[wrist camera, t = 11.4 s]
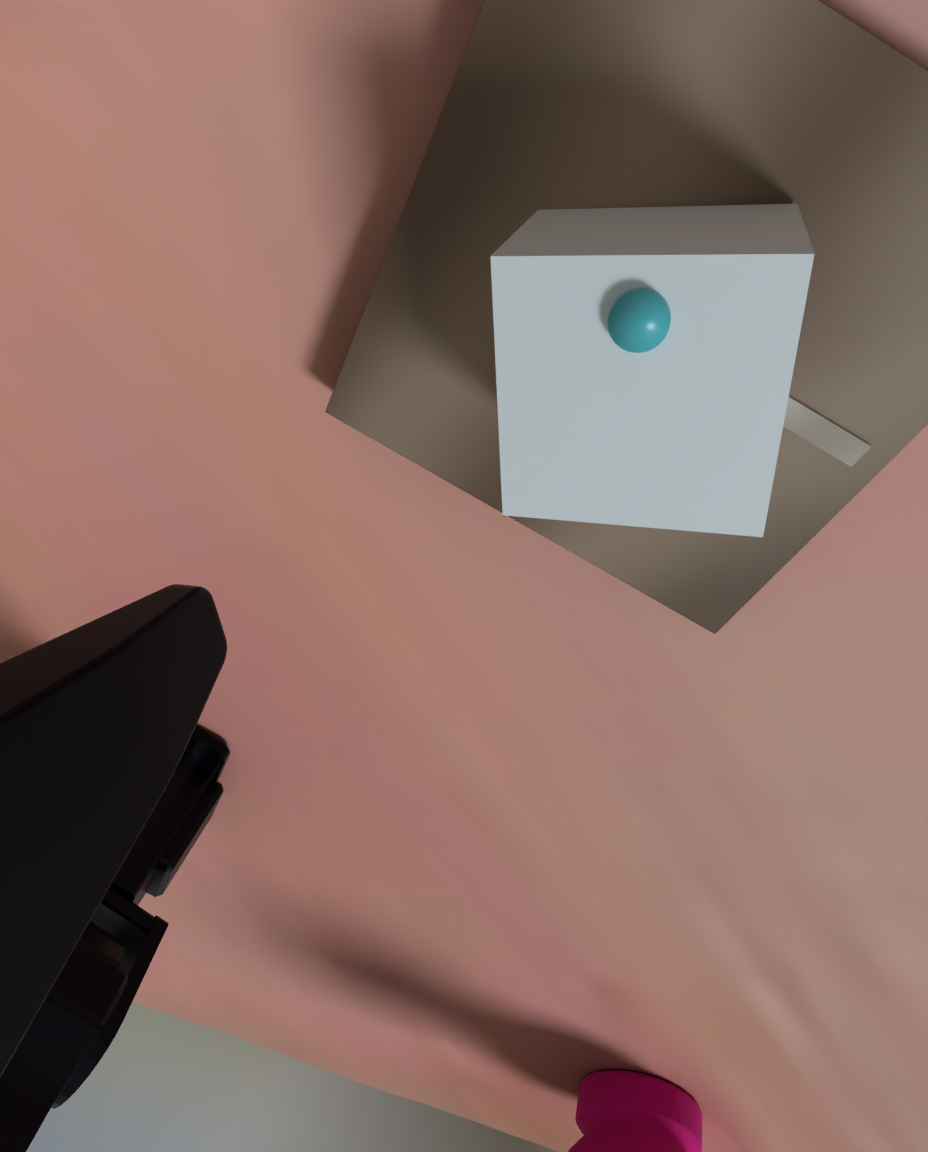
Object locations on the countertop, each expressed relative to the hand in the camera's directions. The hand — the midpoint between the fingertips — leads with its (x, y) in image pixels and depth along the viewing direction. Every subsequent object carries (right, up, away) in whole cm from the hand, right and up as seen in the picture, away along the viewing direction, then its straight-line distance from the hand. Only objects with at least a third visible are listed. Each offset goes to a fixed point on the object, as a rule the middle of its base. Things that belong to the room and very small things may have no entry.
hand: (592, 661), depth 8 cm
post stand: (+3, +7, +9) cm, 12 cm away
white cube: (+3, +6, +9) cm, 11 cm away
